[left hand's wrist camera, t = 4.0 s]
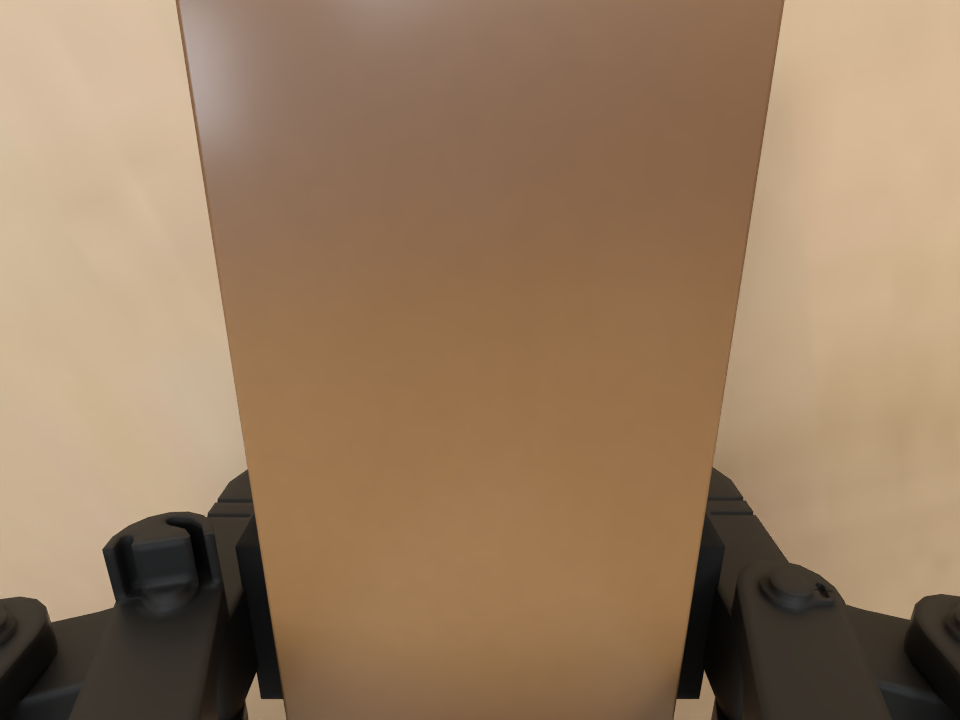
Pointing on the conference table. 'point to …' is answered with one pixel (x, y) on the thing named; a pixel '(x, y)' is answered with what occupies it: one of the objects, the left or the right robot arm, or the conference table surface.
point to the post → (479, 333)
